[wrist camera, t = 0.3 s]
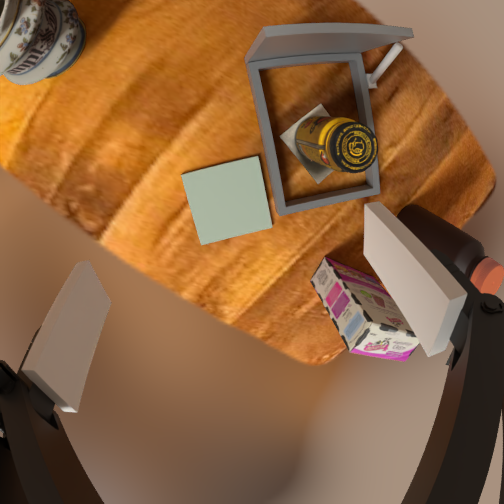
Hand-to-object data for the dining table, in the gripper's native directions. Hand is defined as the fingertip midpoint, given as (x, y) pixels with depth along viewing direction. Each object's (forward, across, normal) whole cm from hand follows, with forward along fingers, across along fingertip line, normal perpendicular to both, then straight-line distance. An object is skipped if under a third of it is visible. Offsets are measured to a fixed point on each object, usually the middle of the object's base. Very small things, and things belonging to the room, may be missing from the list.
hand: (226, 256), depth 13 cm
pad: (+26, -1, -8) cm, 27 cm away
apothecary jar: (+28, -20, +20) cm, 40 cm away
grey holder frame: (+27, +12, -1) cm, 30 cm away
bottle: (+27, +27, -18) cm, 42 cm away
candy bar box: (+25, +14, -25) cm, 38 cm away
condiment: (+27, +12, -3) cm, 30 cm away
